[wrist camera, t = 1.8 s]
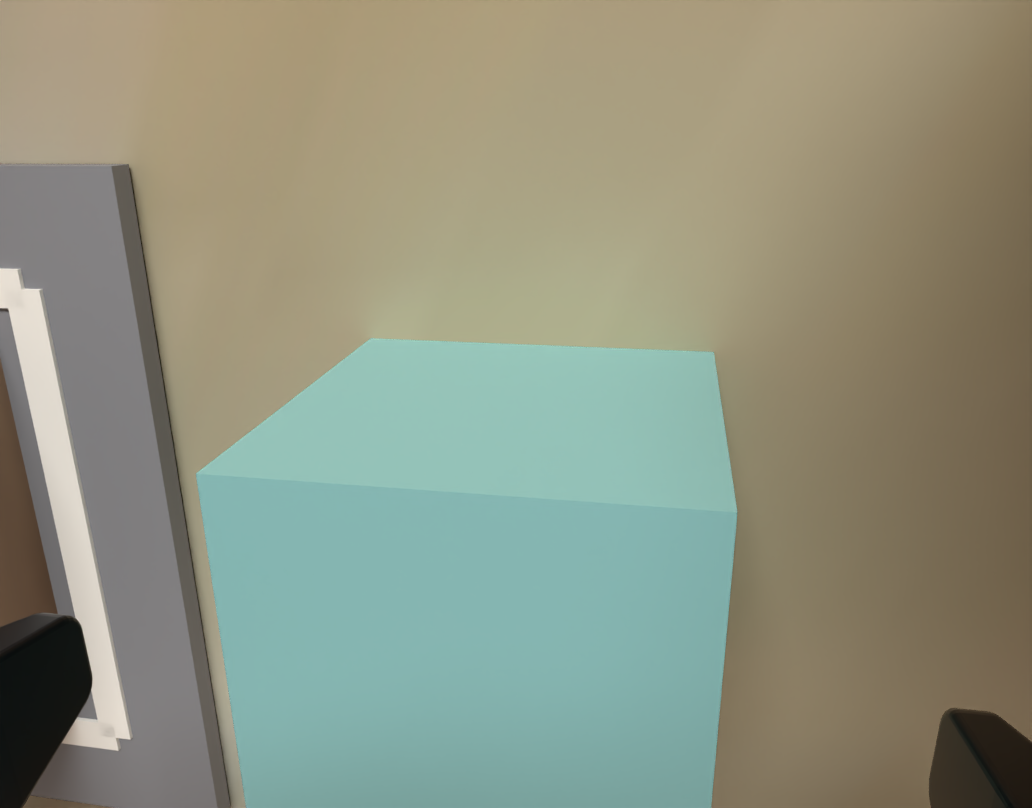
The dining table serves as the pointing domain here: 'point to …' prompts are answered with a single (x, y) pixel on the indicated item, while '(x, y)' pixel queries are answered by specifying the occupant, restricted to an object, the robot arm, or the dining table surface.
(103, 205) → the mat
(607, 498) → the teal cube
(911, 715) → the dining table surface
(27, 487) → the walnut block
